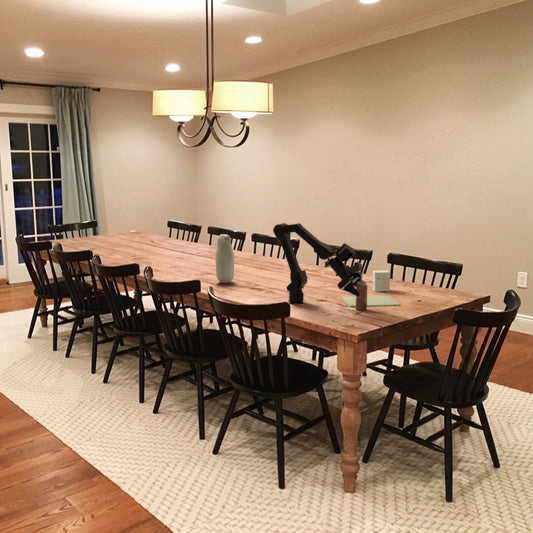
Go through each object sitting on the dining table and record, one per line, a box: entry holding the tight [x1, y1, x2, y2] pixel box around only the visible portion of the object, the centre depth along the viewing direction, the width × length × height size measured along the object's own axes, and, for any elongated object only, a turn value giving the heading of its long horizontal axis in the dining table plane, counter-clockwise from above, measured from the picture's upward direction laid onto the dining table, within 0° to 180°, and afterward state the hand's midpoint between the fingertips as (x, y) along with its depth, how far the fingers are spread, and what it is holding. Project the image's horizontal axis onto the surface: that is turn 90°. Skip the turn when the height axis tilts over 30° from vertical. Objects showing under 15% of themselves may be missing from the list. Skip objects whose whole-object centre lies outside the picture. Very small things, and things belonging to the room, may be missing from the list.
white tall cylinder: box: [214, 233, 235, 284], centre depth 313 cm, size 10×10×28 cm
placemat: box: [341, 295, 400, 308], centre depth 267 cm, size 24×18×1 cm
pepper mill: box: [355, 279, 368, 312], centre depth 251 cm, size 5×5×14 cm
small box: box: [372, 269, 391, 293], centre depth 290 cm, size 8×6×10 cm
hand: (362, 293), depth 250 cm, fingers open, 9 cm apart
